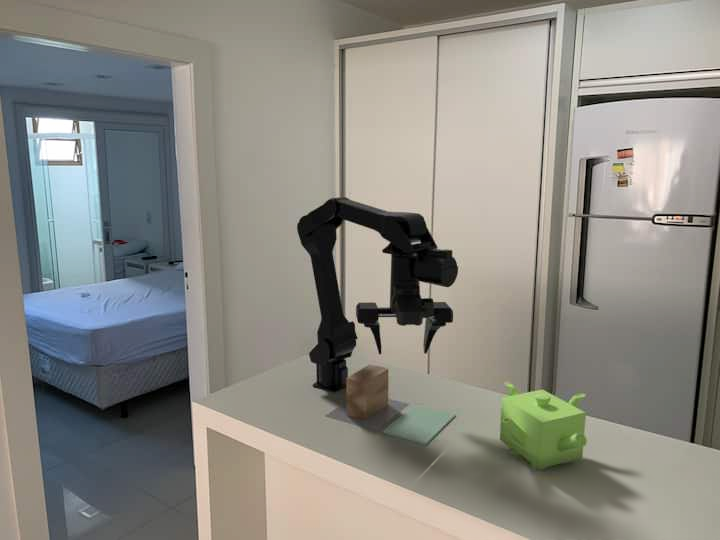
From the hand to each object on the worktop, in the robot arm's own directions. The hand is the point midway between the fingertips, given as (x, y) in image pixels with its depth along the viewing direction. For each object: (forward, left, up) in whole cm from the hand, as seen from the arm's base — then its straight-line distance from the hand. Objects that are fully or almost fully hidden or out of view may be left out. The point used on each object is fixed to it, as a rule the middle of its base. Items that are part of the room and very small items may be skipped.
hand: (402, 353), depth 114 cm
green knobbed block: (+29, -2, -13) cm, 32 cm away
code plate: (-6, -3, -13) cm, 14 cm away
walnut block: (-6, -3, -12) cm, 14 cm away
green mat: (+6, -3, -13) cm, 14 cm away
